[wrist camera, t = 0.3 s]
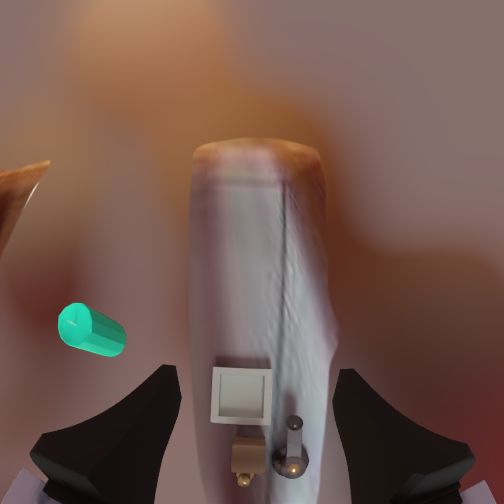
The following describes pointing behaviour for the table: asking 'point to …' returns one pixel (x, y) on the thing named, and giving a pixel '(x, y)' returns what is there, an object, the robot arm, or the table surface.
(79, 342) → the candle
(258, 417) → the tray
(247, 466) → the block
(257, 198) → the table surface
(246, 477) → the crank base
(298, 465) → the crank
